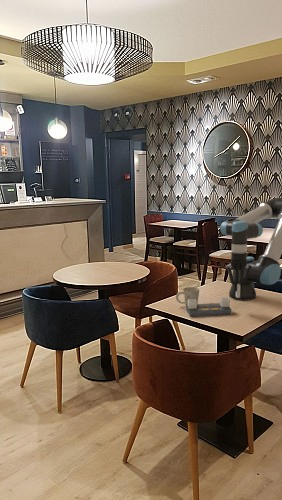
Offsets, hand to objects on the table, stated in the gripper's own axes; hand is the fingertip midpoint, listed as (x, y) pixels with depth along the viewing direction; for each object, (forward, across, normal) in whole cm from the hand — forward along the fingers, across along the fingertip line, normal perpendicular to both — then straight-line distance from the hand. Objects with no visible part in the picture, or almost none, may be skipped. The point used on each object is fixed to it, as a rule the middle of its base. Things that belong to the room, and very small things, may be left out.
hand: (237, 297), depth 203 cm
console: (+8, +15, 0) cm, 17 cm away
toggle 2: (+5, +7, 0) cm, 8 cm away
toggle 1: (+5, +24, 0) cm, 24 cm away
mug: (+8, +24, -10) cm, 28 cm away
